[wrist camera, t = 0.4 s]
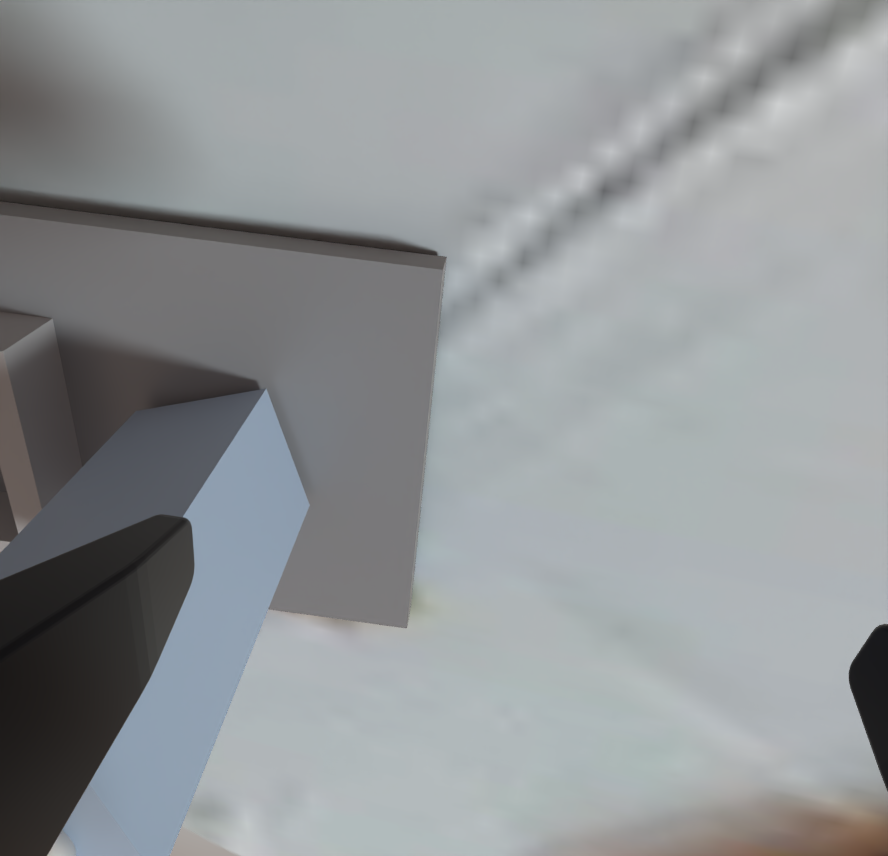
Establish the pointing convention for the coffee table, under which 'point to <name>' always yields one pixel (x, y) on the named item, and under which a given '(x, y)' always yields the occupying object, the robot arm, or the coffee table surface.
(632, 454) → the coffee table surface
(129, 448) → the block
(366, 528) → the plate
